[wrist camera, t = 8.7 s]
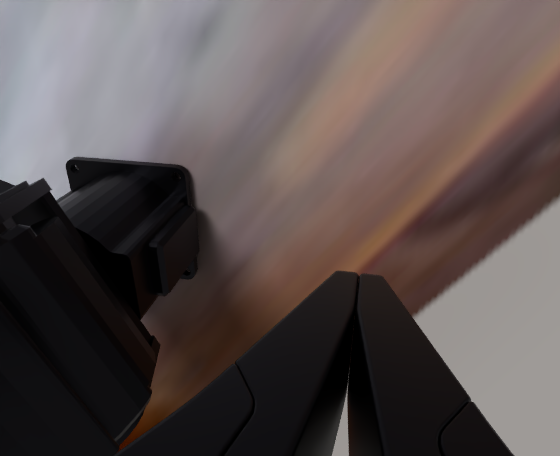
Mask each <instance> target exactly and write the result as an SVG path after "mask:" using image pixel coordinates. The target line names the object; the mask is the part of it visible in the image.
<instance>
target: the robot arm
mask: <svg viewBox="0 0 560 456" xmlns="http://www.w3.org/2000/svg"><path fill="white" fill-rule="evenodd" d="M75 165H77V166H78V167H79V170H77V169H76V167H75ZM66 170H67V175H68V179H69V184H70V188H71V191H70V192H69V193H67V194H65V195H64V196H62V197H61V198H59V199H58V200H55V198H54V197H53V196H52V194H51V193H50V190H52V189H51V188H50V186H49V185H48V184H47V182H46V181H45V179H44V178H42V179H40V180H38V181H36V182H34V183H32V184H30V185H29V184H28V183H27V181H24V182H22V183H20V184H19V185H16V186H14V185H12V184H10V183H7V182H5V181H2V180H0V456H332V452H333V448H334V444H335V440H336V435H337V431H338V427H339V423H340V419H341V415H342V411H343V406H344V402H345V397H346V392H347V385H348V437H349V456H514V455H513V454H512V453H511V451H510V450H509V449H508V447H507V446H506V445H505V443H504V442H503V441H502V440H501V438H500V437H499V436H498V434H497V433H496V432H495V430H494V429H493V428H492V427H491V425H490V424H489V423H488V421H487V420H486V419H485V417H484V416H483V414H482V413H481V412H480V410H479V409H478V408H477V406H476V405H475V404H474V402H471V399H470V397H469V395H468V394H467V393H466V391H465V390H464V388H463V387H462V386H461V384H460V383H459V381H458V380H457V379H456V377H455V376H454V375H453V373H452V372H451V370H450V369H449V368H448V366H447V365H446V363H445V362H444V361H443V359H442V358H441V356H440V355H439V354H438V352H437V351H436V350H435V349H434V347H433V345H432V344H431V343H430V341H429V340H428V338H427V337H426V336H425V334H424V333H423V332H422V330H421V329H420V328H419V326H418V325H417V323H416V322H415V320H414V319H413V318H412V316H411V315H410V314H409V312H408V311H407V309H406V308H405V307H404V305H403V304H402V302H401V301H400V300H399V298H398V297H397V296H396V294H395V293H394V291H393V290H392V289H391V287H390V286H389V284H388V283H387V282H386V280H385V279H384V278H383V277H382V276H380V275H373V274H360V276H358V274H357V273H355V272H347V271H336V272H334V273H333V274H332V275H331V276H330V277H329V278H328V279H327V280H325V281H324V282H323V283H322V284H321V285H320V286H319V287H318V288H317V289H315V290H314V291H313V292H312V293H311V294H310V295H309V296H308V297H307V298H305V299H304V300H303V301H302V302H301V303H300V304H299V305H298V306H297V307H295V308H294V309H293V310H292V311H291V312H290V313H289V314H288V315H287V316H285V317H284V318H283V319H282V320H281V321H280V322H279V323H278V324H277V325H275V326H274V327H273V328H272V329H271V330H270V331H269V332H268V333H267V334H265V335H264V336H263V337H262V338H261V339H260V340H259V341H258V342H257V343H255V344H254V345H253V346H252V347H251V348H250V349H249V350H248V351H247V352H245V353H244V354H243V355H242V356H241V357H240V358H239V359H238V360H237V361H236V362H235V364H232V365H231V366H230V367H229V368H227V369H226V370H225V371H224V372H223V373H222V374H221V375H220V376H219V377H217V378H216V379H215V380H214V381H213V382H211V383H210V384H209V385H208V386H207V387H205V388H204V389H203V390H202V391H201V392H200V393H198V394H197V395H196V396H195V397H193V398H192V399H191V400H189V401H188V402H187V403H185V404H184V405H183V406H181V407H180V408H179V409H177V410H176V411H175V412H173V413H172V414H171V415H169V416H168V417H167V418H165V419H164V420H163V421H161V422H160V423H158V424H157V425H156V426H154V427H153V428H151V429H150V430H148V431H147V432H146V433H144V434H143V435H141V436H140V437H139V438H137V439H136V440H134V441H133V442H132V443H130V444H129V445H127V446H126V447H125V448H123V449H122V450H120V451H119V452H118V453H117V451H118V450H119V445H120V444H121V443H122V442H123V441H124V440H125V439H126V438H127V437H128V436H129V435H130V433H131V432H132V431H133V429H134V428H135V427H136V425H137V424H138V422H139V420H140V419H141V417H142V415H143V413H144V410H145V407H146V405H147V404H148V402H149V401H150V398H151V394H152V390H151V388H150V387H151V383H152V378H153V374H154V370H155V366H156V362H157V357H158V353H159V349H160V344H159V342H158V341H157V339H156V338H155V336H153V335H152V336H151V335H150V334H149V332H148V331H147V329H146V328H145V326H144V325H143V324H142V322H141V321H140V320H141V319H142V317H143V316H144V315H145V313H146V312H147V311H148V309H149V308H150V307H151V305H152V304H153V302H154V301H155V300H156V298H157V297H158V296H166V295H167V294H168V293H170V292H171V290H172V289H173V287H174V286H175V285H176V283H177V282H178V280H179V279H180V278H181V279H192V278H193V277H194V276H195V274H196V273H197V269H198V268H197V258H196V255H197V254H198V252H199V240H198V229H197V218H196V210H195V209H194V207H193V206H191V196H190V186H189V175H188V172H187V170H186V169H185V168H184V167H183V166H181V165H175V164H162V163H149V162H136V161H123V160H111V159H98V158H85V157H74V158H72V159H70V160H69V161H67V163H66ZM174 172H176V173H178V174H179V175H180V177H181V179H177V178H176V177H175V175H174ZM187 268H188V269H189V270H190V272H189V271H187V270H186V269H187ZM358 279H359V281H358ZM357 289H358V291H357ZM356 299H357V300H356ZM355 309H356V310H355ZM354 319H355V320H354ZM353 328H354V330H353ZM352 338H353V340H352ZM351 348H352V350H351ZM350 357H351V360H350ZM349 367H350V370H349ZM348 377H349V380H348ZM114 454H115V455H114Z"/></svg>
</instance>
